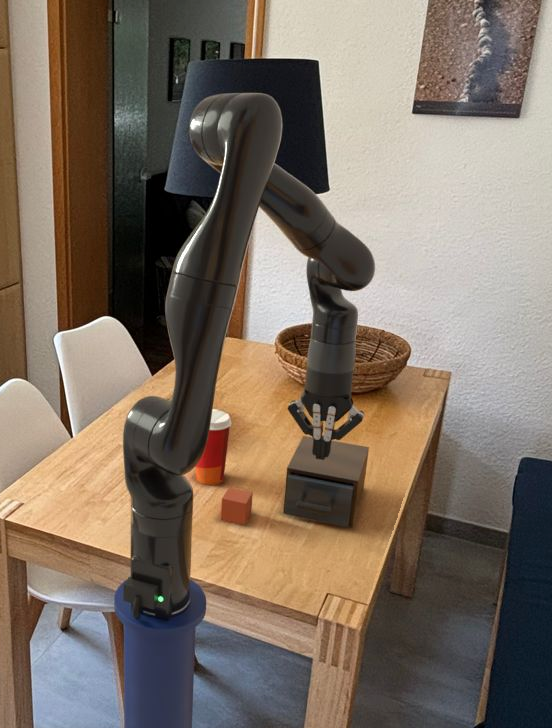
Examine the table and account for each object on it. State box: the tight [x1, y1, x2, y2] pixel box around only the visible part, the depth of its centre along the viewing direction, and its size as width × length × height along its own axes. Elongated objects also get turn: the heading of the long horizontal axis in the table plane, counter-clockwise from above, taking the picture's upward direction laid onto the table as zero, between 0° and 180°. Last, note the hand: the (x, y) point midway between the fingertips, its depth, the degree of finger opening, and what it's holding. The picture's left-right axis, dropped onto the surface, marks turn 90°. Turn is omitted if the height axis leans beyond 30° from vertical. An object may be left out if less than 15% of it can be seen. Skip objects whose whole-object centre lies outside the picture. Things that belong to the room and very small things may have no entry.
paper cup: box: [194, 408, 233, 486], centre depth 154 cm, size 8×8×14 cm
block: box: [220, 486, 254, 526], centre depth 142 cm, size 5×5×5 cm
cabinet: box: [282, 435, 370, 528], centre depth 146 cm, size 15×13×10 cm
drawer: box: [284, 473, 354, 528], centre depth 142 cm, size 18×11×8 cm, turn 156°
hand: (320, 457), depth 133 cm, fingers closed
